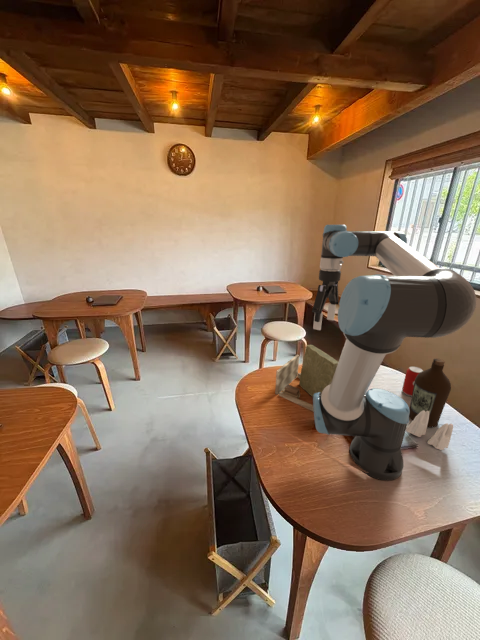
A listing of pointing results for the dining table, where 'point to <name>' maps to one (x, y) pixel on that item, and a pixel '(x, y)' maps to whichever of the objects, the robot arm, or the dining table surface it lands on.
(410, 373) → the beverage can
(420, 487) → the dining table surface
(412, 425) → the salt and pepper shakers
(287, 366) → the rack
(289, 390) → the offcut stack
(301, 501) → the dining table surface
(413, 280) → the robot arm
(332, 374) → the decorative tile
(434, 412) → the olive oil
